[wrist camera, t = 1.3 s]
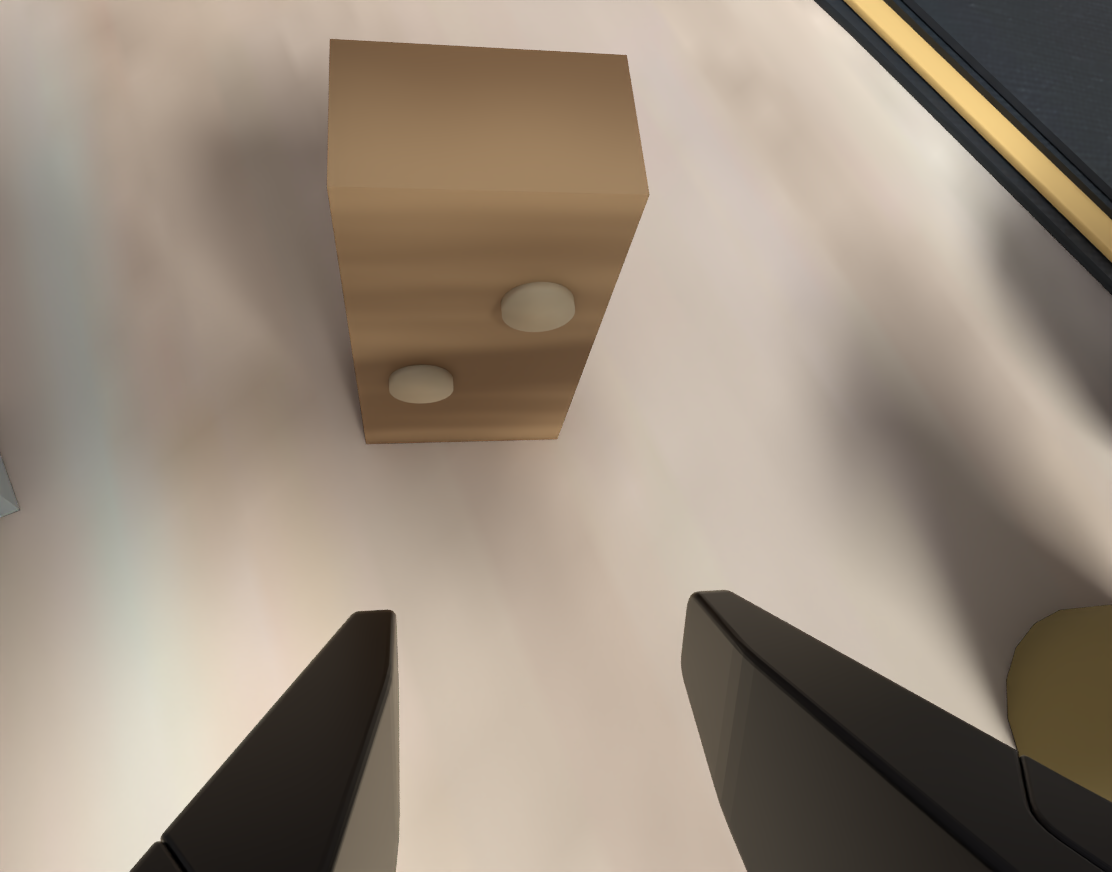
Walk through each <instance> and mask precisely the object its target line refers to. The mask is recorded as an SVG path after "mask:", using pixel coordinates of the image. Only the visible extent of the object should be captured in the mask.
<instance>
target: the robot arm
mask: <svg viewBox="0 0 1112 872" xmlns="http://www.w3.org/2000/svg"><path fill="white" fill-rule="evenodd" d="M681 668H682V675H683V680H684V683H685V687H686V690H687V694H688V697H689V701H690V704H691V708H692V711H693V715H694V718H695V721H696V725H697V728H698V732H699V735H700V739H701V742H702V746H703V749H704V753H705V756H706V760H707V763H708V766H709V770H710V773H711V777H712V780H713V784H714V787H715V790H716V793H717V797H718V800H719V803H720V806H721V809H722V811H723V814H724V816H725V819H726V822H727V824H728V827H729V829H730V832H731V834H732V837H733V839H734V841H735V844H736V846H737V848H738V851H739V853H740V856H741V858H742V860H743V863H744V865H745V868H746V870H747V872H1112V802H1110V801H1109V800H1107V799H1105V798H1103V797H1101V796H1099V795H1097V794H1095V793H1094V792H1092V791H1090V790H1088V789H1086V788H1084V787H1082V786H1081V785H1079V784H1077V783H1075V782H1073V781H1071V780H1069V779H1067V778H1066V777H1064V776H1062V775H1060V774H1058V773H1057V772H1055V771H1053V770H1051V769H1050V768H1048V767H1046V766H1044V765H1042V764H1041V763H1039V762H1037V761H1035V760H1034V759H1032V758H1030V757H1028V756H1026V755H1022V756H1020V757H1019V755H1018V752H1017V751H1016V750H1015V749H1013V748H1012V747H1010V746H1008V745H1006V744H1004V743H1003V742H1001V741H999V740H997V739H995V738H994V737H992V736H990V735H988V734H986V733H985V732H983V731H981V730H979V729H977V728H976V727H974V726H972V725H970V724H968V723H967V722H965V721H963V720H961V719H959V718H958V717H956V716H954V715H952V714H950V713H949V712H947V711H945V710H943V709H941V708H940V707H938V706H936V705H934V704H932V703H931V702H929V701H927V700H925V699H923V698H922V697H920V696H918V695H916V694H914V693H913V692H911V691H909V690H907V689H905V688H904V687H902V686H900V685H898V684H896V683H895V682H893V681H891V680H889V679H887V678H886V677H884V676H882V675H880V674H878V673H877V672H875V671H873V670H871V669H869V668H868V667H866V666H864V665H862V664H860V663H859V662H857V661H855V660H853V659H851V658H850V657H848V656H846V655H844V654H842V653H841V652H839V651H837V650H835V649H833V648H832V647H830V646H828V645H826V644H824V643H823V642H821V641H819V640H817V639H815V638H814V637H812V636H810V635H808V634H806V633H805V632H803V631H801V630H799V629H797V628H796V627H794V626H792V625H790V624H788V623H787V622H785V621H783V620H781V619H780V618H778V617H776V616H774V615H772V614H771V613H769V612H767V611H765V610H763V609H762V608H760V607H758V606H756V605H754V604H753V603H751V602H749V601H747V600H745V599H744V598H742V597H740V596H738V595H736V594H735V593H733V592H731V591H728V590H715V591H699V592H694V593H693V594H692V595H691V596H690V598H689V601H688V603H687V610H686V619H685V627H684V636H683V645H682V653H681ZM399 817H400V802H399V679H398V651H397V623H396V614H395V613H394V612H393V611H391V610H374V611H358V612H355V613H353V614H352V615H351V616H350V617H349V618H348V619H347V621H346V622H345V623H344V624H343V625H342V626H341V628H340V629H339V630H338V631H337V632H336V633H335V635H334V636H333V637H332V638H331V639H330V640H329V641H328V643H327V644H326V645H325V646H324V647H323V648H322V650H321V651H320V652H319V653H318V654H317V655H316V657H315V658H314V659H313V660H312V661H311V662H310V664H309V665H308V666H307V667H306V668H305V669H304V670H303V672H302V673H301V674H300V675H299V676H298V677H297V679H296V680H295V681H294V682H293V683H292V684H291V686H290V687H289V688H288V689H287V690H286V691H285V693H284V694H283V695H282V696H281V697H280V698H279V699H278V701H277V702H276V703H275V704H274V705H273V706H272V708H271V709H270V710H269V711H268V712H267V713H266V715H265V716H264V717H263V718H262V719H261V720H260V721H259V723H258V724H257V725H256V726H255V727H254V728H253V730H252V731H251V732H250V733H249V734H248V735H247V737H246V738H245V739H244V740H243V741H242V742H241V744H240V745H239V746H238V747H237V748H236V749H235V750H234V752H233V753H232V754H231V755H230V756H229V757H228V759H227V760H226V761H225V762H224V763H223V764H222V766H221V767H220V768H219V769H218V770H217V771H216V773H215V774H214V775H213V776H212V777H211V778H210V779H209V781H208V782H207V783H206V784H205V785H204V786H203V788H202V789H201V790H200V791H199V792H198V793H197V795H196V796H195V797H194V798H193V799H192V800H191V801H190V803H189V804H188V805H187V806H186V807H185V808H184V810H183V811H182V812H181V813H180V814H179V815H178V817H177V818H176V819H175V820H174V821H173V822H172V824H171V825H170V826H169V827H168V828H167V829H166V830H165V832H164V833H163V834H162V836H161V841H158V842H155V843H154V844H153V845H152V846H151V847H150V848H149V850H148V851H147V852H146V853H145V854H144V855H143V857H142V858H141V859H140V860H139V861H138V862H137V864H136V865H135V866H134V867H133V868H132V869H131V870H130V872H396V864H397V854H398V843H399Z"/></svg>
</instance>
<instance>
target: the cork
mask: <svg viewBox="0 0 1112 872" xmlns="http://www.w3.org/2000/svg"><path fill="white" fill-rule="evenodd" d="M1007 709H1008V720H1009V723H1010V726H1011V730H1012V733H1013V736H1014V739H1015V743H1016V746H1017V749H1018V752H1019V756H1022V755H1026V756H1028V757H1030V758H1032V759H1034V760H1035V761H1037V762H1039V763H1041V764H1042V765H1044V766H1046V767H1048V768H1050V769H1051V770H1053V771H1055V772H1057V773H1058V774H1060V775H1062V776H1064V777H1066V778H1067V779H1069V780H1071V781H1073V782H1075V783H1077V784H1079V785H1081V786H1082V787H1084V788H1086V789H1088V790H1090V791H1092V792H1094V793H1095V794H1097V795H1099V796H1101V797H1103V798H1105V799H1107V800H1109V801H1110V802H1112V605H1103V606H1093V607H1084V608H1074V609H1065V610H1059V611H1057V612H1055V613H1054V614H1052V615H1050V616H1048V617H1046V618H1044V619H1043V620H1041V621H1039V622H1037V623H1035V624H1034V625H1033V626H1032V628H1031V629H1030V630H1029V632H1028V633H1027V634H1026V635H1025V637H1024V638H1023V639H1022V641H1021V642H1020V643H1019V644H1018V646H1017V647H1016V649H1015V653H1014V656H1013V660H1012V663H1011V666H1010V670H1009V673H1008V677H1007Z"/></svg>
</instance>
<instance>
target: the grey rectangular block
mask: <svg viewBox="0 0 1112 872" xmlns="http://www.w3.org/2000/svg"><path fill="white" fill-rule="evenodd" d="M18 510H20V508H19V505H18V502H17V500H16V497H15V494H14V491H13V488H12V485H11V483H10V480H9V477H8V474H7V471H6V468H5V466H4V463H3V460H2V457H1V454H0V518H1V517H3V516H6V515H8V514H11V513H13V512H16V511H18Z"/></svg>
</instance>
